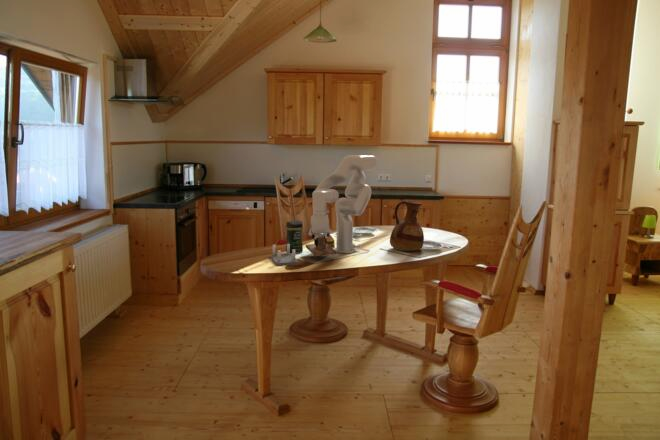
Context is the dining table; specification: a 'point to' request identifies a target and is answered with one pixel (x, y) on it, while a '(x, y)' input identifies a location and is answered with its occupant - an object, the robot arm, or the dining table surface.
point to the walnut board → (320, 248)
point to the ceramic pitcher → (407, 229)
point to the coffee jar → (294, 236)
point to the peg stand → (284, 257)
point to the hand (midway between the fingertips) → (320, 245)
